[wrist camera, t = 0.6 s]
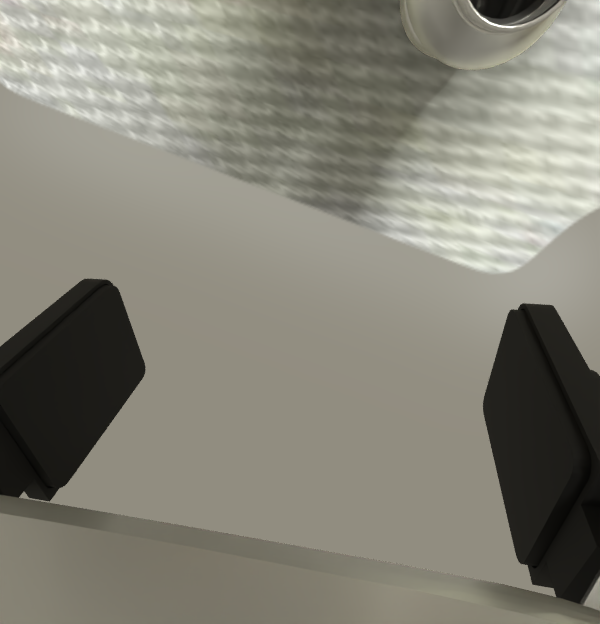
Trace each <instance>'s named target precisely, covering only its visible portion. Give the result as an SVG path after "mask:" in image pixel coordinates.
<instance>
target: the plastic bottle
mask: <svg viewBox="0 0 600 624" xmlns="http://www.w3.org/2000/svg"><path fill="white" fill-rule="evenodd" d="M566 1H567V0H400V14H401V20H402V24H403V27H404V30H405V32H406V35H407V36H408V38H409V39H410V41H411V43H412V44H413V45H414V46H415V47H416V48H417V49H418V50H419V51H421V52H422V53H424V54H426V55H428V56H431V57H434V58H436V59H438V60H439V61H441V62H442V63H444V64H445V65H448V66H451V67H454V68H457V69H464V70H481V69H488V68H492V67H495V66H497V65H500V64H503V63H506V62H507V61H509V60H511V59H513V58H515V57H516V56H518V55H520V54H521V53H523V52H524V51H525V50H526V49H528V48H529V47H530V46H531V45H533V44H534V43H535V42H536V41H537V40H538V39H539V38H540V37H541V36H542V35H543V34H544V33H545V32H546V31H547V29H548V28H549V27H550V26H551V25H552V23H553V22H554V20H555V19H556V17H557V16H558V15H559V13H560V12H561V10H562V9H563V7H564V5H565V3H566Z"/></svg>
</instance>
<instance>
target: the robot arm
mask: <svg viewBox="0 0 600 624" xmlns="http://www.w3.org/2000/svg"><path fill="white" fill-rule="evenodd" d="M144 374H145V363H144V360H143V358H142V355H141V352H140V349H139V346H138V344H137V341H136V338H135V335H134V332H133V329H132V326H131V323H130V321H129V318H128V315H127V312H126V309H125V306H124V304H123V301H122V298H121V295H120V292H119V290H118V288H117V287H115V286H113V284H112V283H111V282H110V281H108V280H102V279H84V280H82V281H80V282H79V283H78V284H77V285H76V286H74V287H73V288H72V289H71V290H69V291H68V292H67V293H66V294H64V295H63V296H62V297H61V298H59V300H57V301H56V302H55V303H54V304H52V305H51V306H50V307H49V308H47V309H46V310H45V311H43V312H42V313H41V314H40V315H39V316H37V317H36V318H35V319H34V320H32V321H31V322H30V323H29V324H27V325H26V326H25V327H24V328H23V329H21V330H20V331H19V332H18V333H16V334H15V335H14V336H13V337H11V338H10V339H9V340H8V341H7V342H5V343H4V344H3V345H2V346H1V347H0V624H600V376H599V375H598V374H597V372H595V371H593V370H590V369H589V368H588V366H587V364H586V362H585V360H584V359H583V357H582V355H581V353H580V351H579V350H578V348H577V346H576V344H575V343H574V341H573V339H572V337H571V336H570V334H569V332H568V330H567V328H566V327H565V325H564V323H563V322H562V320H561V318H560V316H559V315H558V313H557V311H556V309H555V308H554V306H552V305H541V304H521V305H520V307H519V308H518V310H510V312H509V314H508V316H507V320H506V323H505V327H504V330H503V334H502V337H501V341H500V344H499V348H498V351H497V354H496V358H495V362H494V365H493V369H492V372H491V375H490V379H489V382H488V385H487V389H486V392H485V396H484V401H483V412H484V417H485V421H486V426H487V430H488V434H489V439H490V443H491V448H492V452H493V457H494V460H495V465H496V470H497V473H498V478H499V483H500V487H501V491H502V496H503V500H504V504H505V509H506V513H507V518H508V522H509V527H510V531H511V535H512V539H513V544H514V548H515V552H516V556H517V559H518V561H519V562H520V563H521V564H525V565H528V568H529V572H530V576H531V580H532V584H533V585H538V586H544V587H550V588H554V591H555V594H556V597H553V596H549V595H545V594H541V593H537V592H532V591H529V590H524V589H520V588H516V587H512V586H508V585H504V584H499V583H494V582H488V581H484V580H478V579H473V578H468V577H463V576H458V575H453V574H448V573H443V572H438V571H432V570H427V569H422V568H417V567H412V566H407V565H402V564H397V563H391V562H385V561H380V560H374V559H369V558H363V557H357V556H351V555H346V554H340V553H335V552H329V551H323V550H318V549H312V548H307V547H301V546H296V545H290V544H284V543H279V542H273V541H267V540H262V539H256V538H250V537H244V536H239V535H233V534H228V533H222V532H216V531H210V530H205V529H199V528H193V527H187V526H182V525H176V524H170V523H164V522H159V521H153V520H147V519H141V518H135V517H129V516H124V515H117V514H112V513H106V512H100V511H94V510H88V509H83V508H77V507H70V506H65V505H59V504H52V503H47V502H41V501H35V500H28V499H23V498H19V497H20V495H21V494H22V493H23V491H24V492H25V493H26V494H27V496H28V497H29V498H33V499H39V500H45V501H50V500H51V499H52V498H53V496H54V495H55V494H56V492H57V491H58V489H59V488H61V487H63V486H65V485H66V484H67V483H68V481H69V480H70V479H71V478H72V476H73V475H74V473H75V472H76V471H77V469H78V468H79V466H80V465H81V464H82V462H83V461H84V459H85V458H86V457H87V455H88V454H89V452H90V451H91V450H92V448H93V447H94V445H95V444H96V443H97V441H98V440H99V438H100V437H101V436H102V434H103V433H104V432H105V430H106V429H107V427H108V426H109V425H110V423H111V422H112V420H113V419H114V417H115V416H116V415H117V413H118V412H119V411H120V409H121V408H122V406H123V405H124V404H125V402H126V401H127V399H128V398H129V397H130V395H131V394H132V392H133V391H134V390H135V388H136V387H137V385H138V384H139V383H140V381H141V380H142V378H143V377H144Z"/></svg>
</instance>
